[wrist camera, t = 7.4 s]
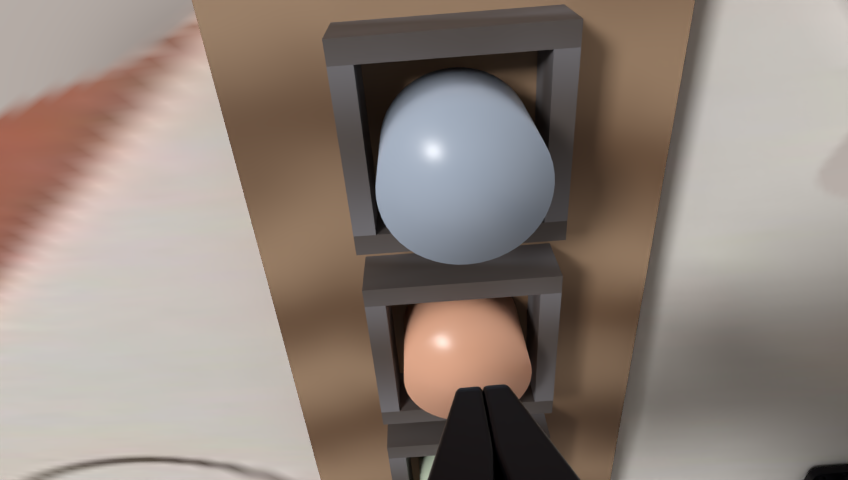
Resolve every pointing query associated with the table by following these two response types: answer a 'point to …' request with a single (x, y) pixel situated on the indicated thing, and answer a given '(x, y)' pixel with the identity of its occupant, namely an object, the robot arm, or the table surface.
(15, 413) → the table surface
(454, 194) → the slate button
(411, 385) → the terracotta button
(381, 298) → the button panel
